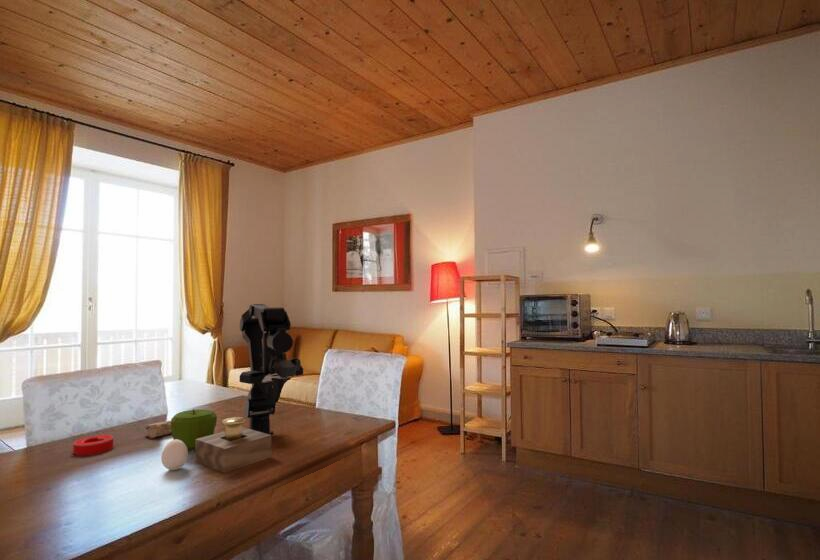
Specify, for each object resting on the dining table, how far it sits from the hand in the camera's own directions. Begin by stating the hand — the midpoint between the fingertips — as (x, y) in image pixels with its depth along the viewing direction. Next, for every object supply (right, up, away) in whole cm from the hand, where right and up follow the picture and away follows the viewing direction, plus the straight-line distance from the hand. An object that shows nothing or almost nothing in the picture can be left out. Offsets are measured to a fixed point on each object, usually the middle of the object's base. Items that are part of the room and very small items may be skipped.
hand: (272, 403), depth 133 cm
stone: (-40, -15, +15) cm, 45 cm away
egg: (-20, -13, -17) cm, 29 cm away
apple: (-24, -14, +1) cm, 27 cm away
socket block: (-8, -13, -10) cm, 18 cm away
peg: (-8, -9, -9) cm, 15 cm away
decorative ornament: (-53, -14, 0) cm, 55 cm away
